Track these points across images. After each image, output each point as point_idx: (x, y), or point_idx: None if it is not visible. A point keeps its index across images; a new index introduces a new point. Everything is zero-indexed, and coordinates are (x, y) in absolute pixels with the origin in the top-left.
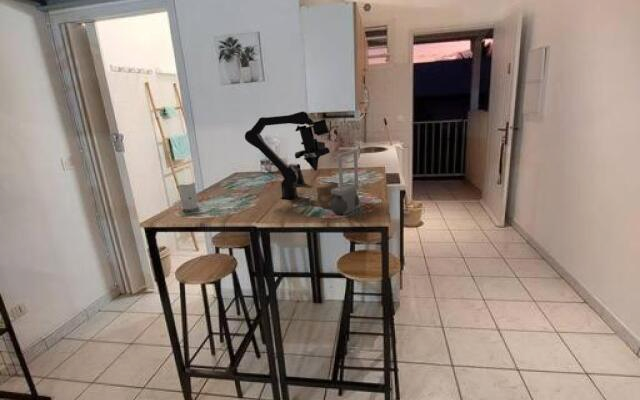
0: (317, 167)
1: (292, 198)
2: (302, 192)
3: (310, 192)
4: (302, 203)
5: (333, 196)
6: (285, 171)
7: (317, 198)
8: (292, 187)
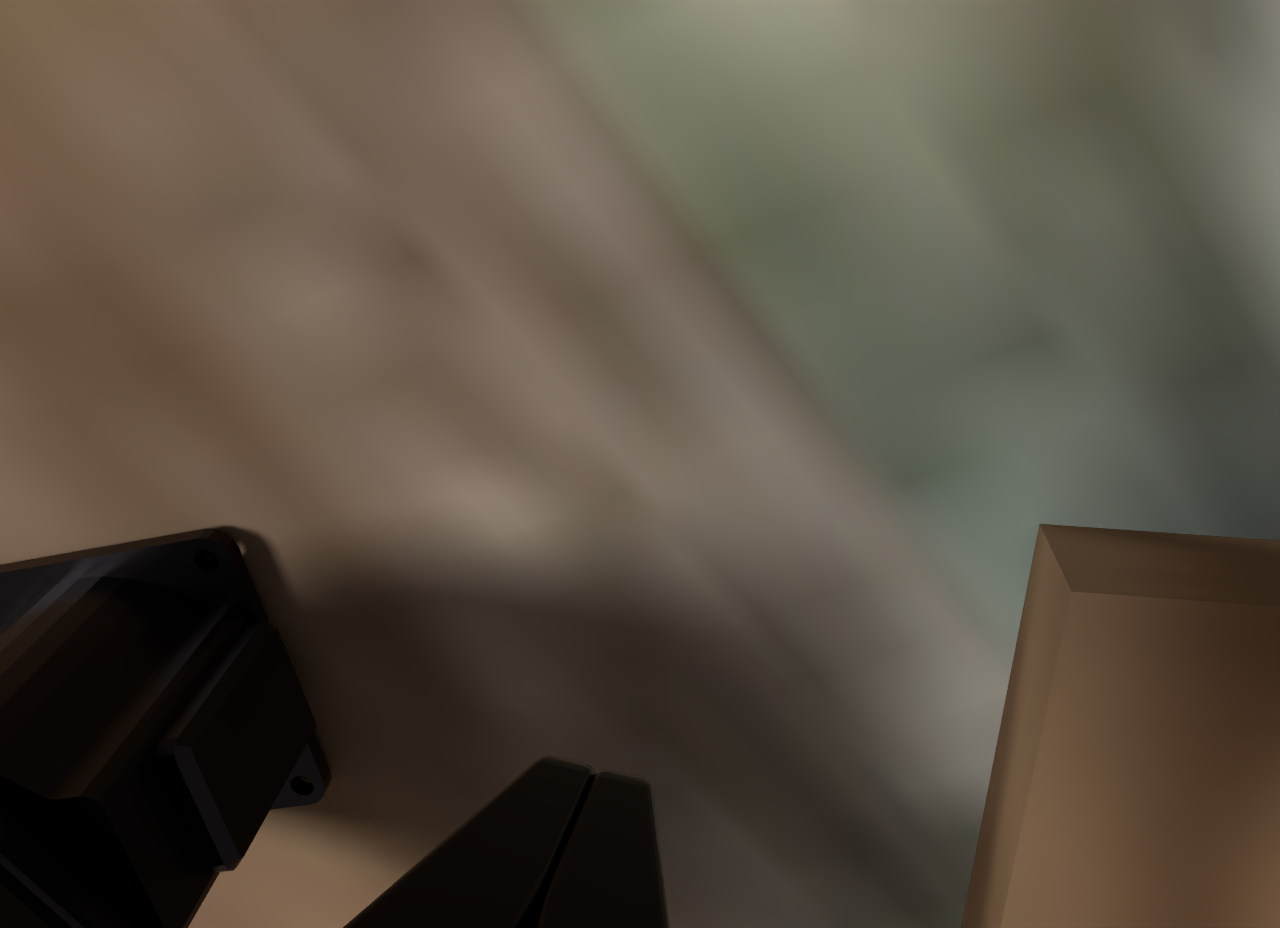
0: (661, 893)
1: (325, 777)
2: (19, 180)
3: (222, 81)
4: (744, 897)
5: None
6: None
7: (1113, 904)
8: (190, 920)
